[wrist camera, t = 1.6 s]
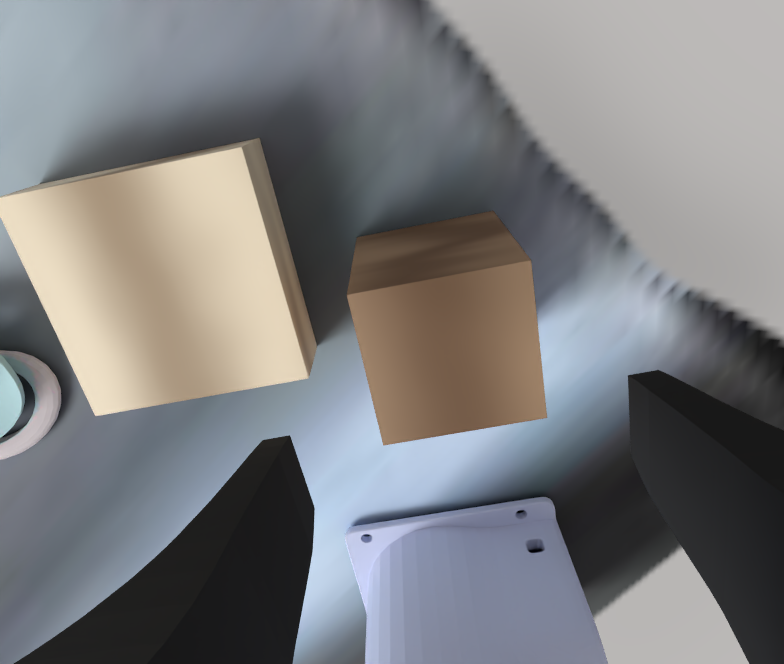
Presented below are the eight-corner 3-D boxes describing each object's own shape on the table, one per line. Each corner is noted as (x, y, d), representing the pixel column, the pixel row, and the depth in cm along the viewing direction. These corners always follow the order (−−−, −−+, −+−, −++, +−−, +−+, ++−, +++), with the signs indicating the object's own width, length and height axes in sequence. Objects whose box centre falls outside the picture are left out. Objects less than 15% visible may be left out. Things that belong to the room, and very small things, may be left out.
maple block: (261, 136, 20) (241, 147, 17) (317, 342, 23) (308, 378, 21) (44, 182, 21) (-8, 199, 18) (129, 376, 24) (95, 415, 21)
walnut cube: (492, 210, 21) (531, 260, 15) (508, 334, 23) (546, 417, 17) (356, 236, 21) (346, 295, 16) (384, 356, 23) (383, 445, 18)
